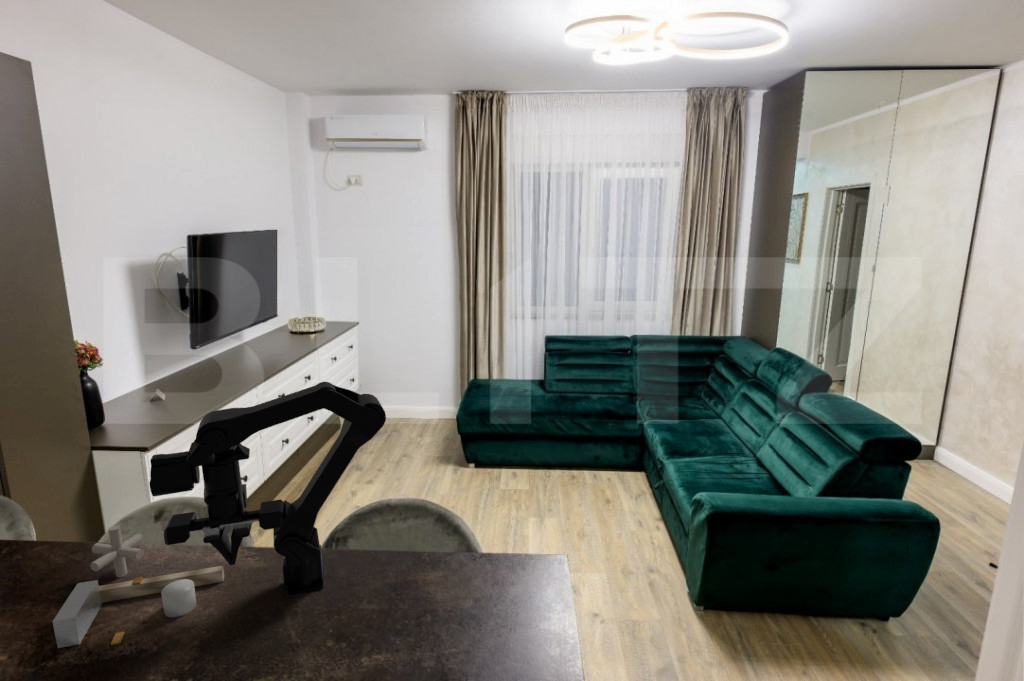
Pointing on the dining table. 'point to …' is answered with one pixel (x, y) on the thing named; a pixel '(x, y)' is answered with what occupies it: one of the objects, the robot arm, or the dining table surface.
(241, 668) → the dining table surface
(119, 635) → the small orange-brown block
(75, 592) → the block
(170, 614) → the grey egg-shaped dome
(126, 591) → the oak rail
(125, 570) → the pipe connector
